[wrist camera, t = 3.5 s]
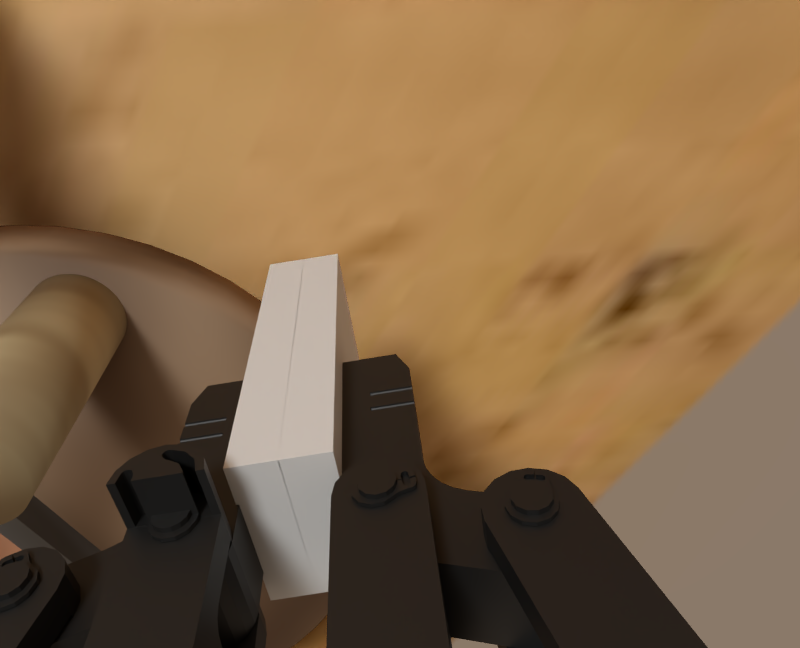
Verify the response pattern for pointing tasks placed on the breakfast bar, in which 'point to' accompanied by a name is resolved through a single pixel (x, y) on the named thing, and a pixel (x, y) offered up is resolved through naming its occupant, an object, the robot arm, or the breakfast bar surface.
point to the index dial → (108, 384)
